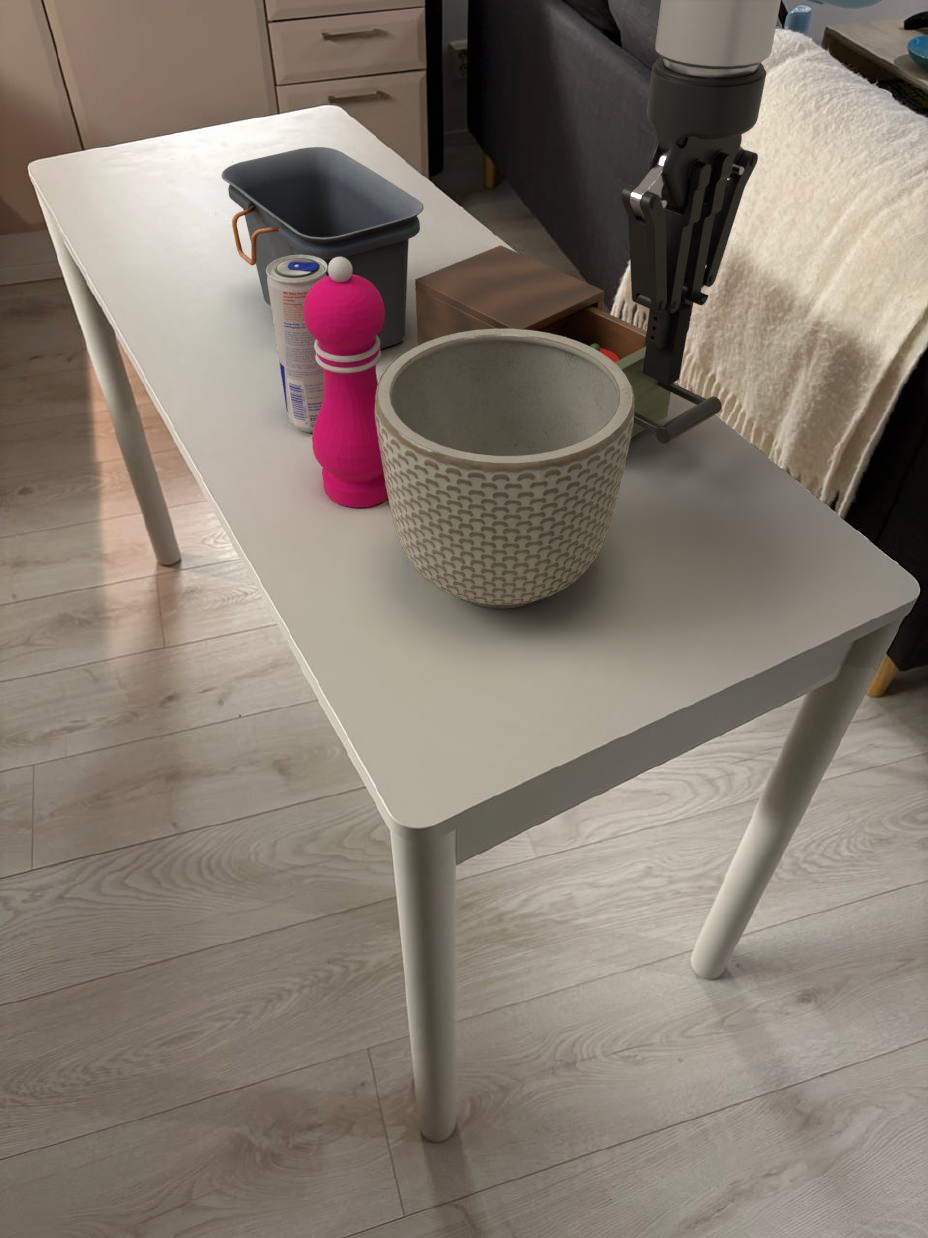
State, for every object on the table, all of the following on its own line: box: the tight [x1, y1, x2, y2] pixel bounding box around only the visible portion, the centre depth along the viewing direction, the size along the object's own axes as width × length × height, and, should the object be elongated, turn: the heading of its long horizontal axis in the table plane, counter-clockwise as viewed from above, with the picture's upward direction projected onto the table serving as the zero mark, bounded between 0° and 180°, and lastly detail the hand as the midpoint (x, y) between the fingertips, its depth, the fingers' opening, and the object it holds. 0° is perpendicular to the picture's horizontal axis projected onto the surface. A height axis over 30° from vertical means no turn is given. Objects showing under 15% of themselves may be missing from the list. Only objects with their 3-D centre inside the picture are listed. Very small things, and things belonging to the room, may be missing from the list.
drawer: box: [536, 306, 723, 445], centre depth 86 cm, size 19×10×8 cm, turn 43°
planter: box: [375, 329, 635, 610], centre depth 70 cm, size 17×17×16 cm
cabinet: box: [414, 245, 605, 346], centre depth 93 cm, size 14×11×10 cm
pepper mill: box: [303, 257, 389, 508], centre depth 76 cm, size 7×7×20 cm
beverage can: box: [266, 255, 329, 434], centre depth 85 cm, size 5×5×15 cm
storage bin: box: [221, 146, 425, 350], centre depth 99 cm, size 21×16×14 cm
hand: (660, 375), depth 81 cm, fingers closed
